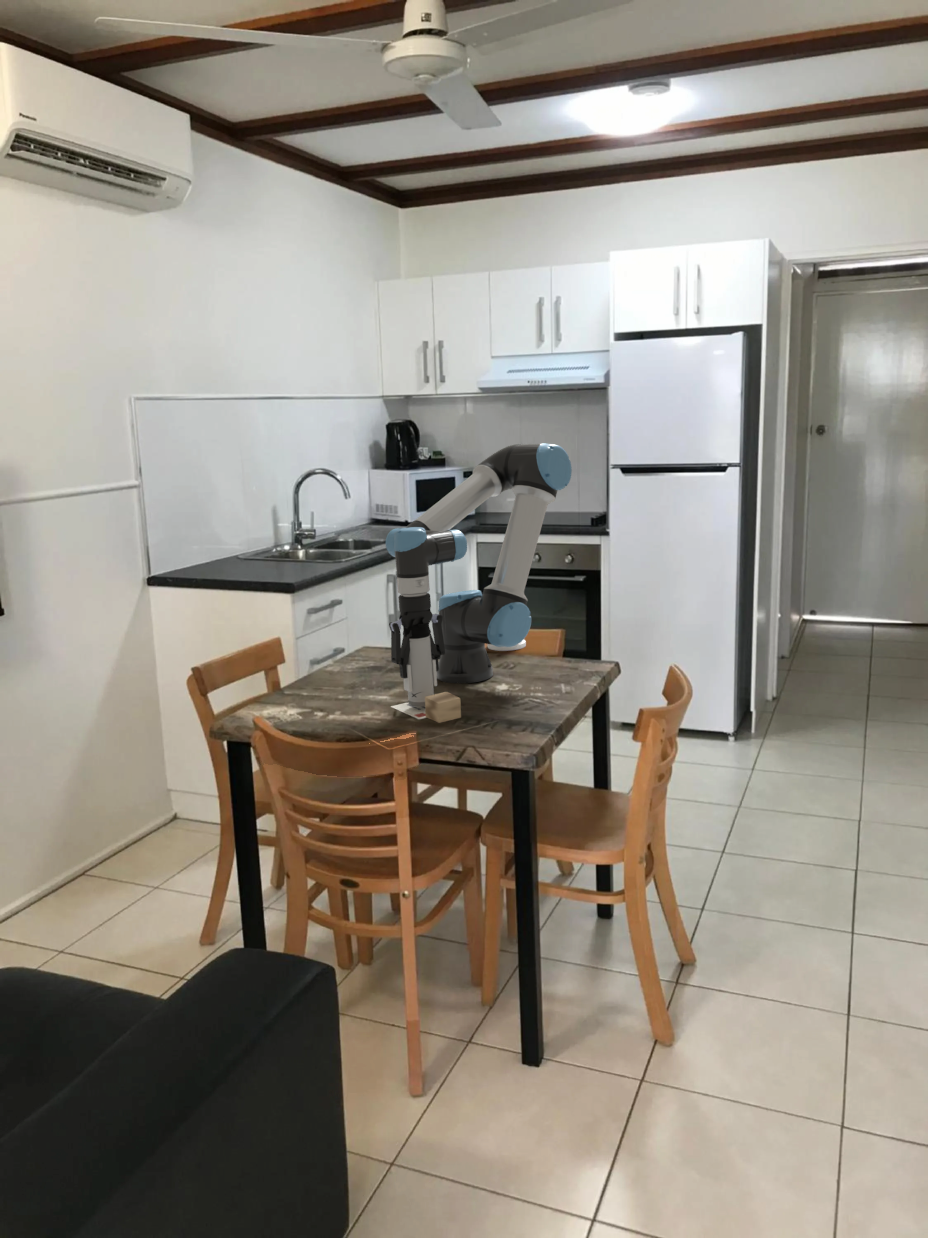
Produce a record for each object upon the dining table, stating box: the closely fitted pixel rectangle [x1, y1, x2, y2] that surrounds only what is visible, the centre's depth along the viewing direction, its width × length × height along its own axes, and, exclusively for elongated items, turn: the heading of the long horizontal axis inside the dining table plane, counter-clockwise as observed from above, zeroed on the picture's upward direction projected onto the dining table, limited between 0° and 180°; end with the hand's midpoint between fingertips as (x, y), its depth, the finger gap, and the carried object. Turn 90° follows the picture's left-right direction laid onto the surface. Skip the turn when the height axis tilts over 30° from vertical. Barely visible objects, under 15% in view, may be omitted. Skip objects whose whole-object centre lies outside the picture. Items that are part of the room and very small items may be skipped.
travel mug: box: [402, 623, 435, 707], centre depth 239 cm, size 6×7×20 cm
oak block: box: [425, 691, 462, 724], centre depth 233 cm, size 6×6×5 cm
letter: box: [390, 702, 428, 720], centre depth 241 cm, size 14×10×1 cm
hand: (420, 687), depth 240 cm, fingers closed on travel mug, 6 cm apart
